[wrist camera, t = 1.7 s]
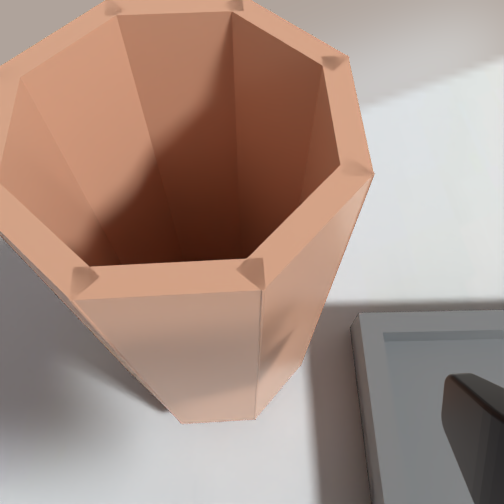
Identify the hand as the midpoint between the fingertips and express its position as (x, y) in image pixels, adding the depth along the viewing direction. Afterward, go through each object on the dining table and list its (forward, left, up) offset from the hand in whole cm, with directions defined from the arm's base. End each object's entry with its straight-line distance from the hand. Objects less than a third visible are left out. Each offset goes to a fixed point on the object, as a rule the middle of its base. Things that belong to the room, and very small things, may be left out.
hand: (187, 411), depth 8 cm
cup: (+4, 0, -11) cm, 12 cm away
